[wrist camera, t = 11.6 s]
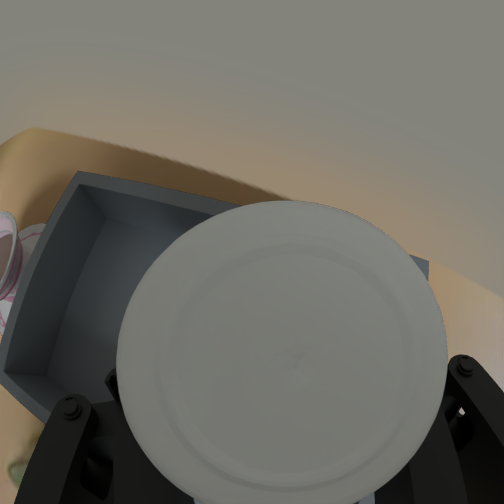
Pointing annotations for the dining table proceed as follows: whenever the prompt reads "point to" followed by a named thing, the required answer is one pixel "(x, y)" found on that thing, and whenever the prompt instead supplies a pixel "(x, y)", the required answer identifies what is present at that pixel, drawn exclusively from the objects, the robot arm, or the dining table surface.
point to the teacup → (13, 259)
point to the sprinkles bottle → (282, 357)
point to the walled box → (91, 286)
